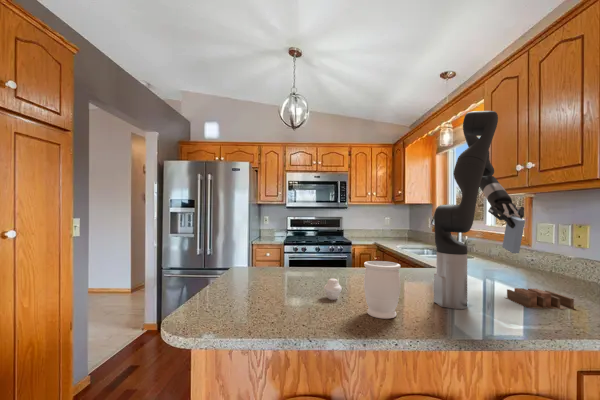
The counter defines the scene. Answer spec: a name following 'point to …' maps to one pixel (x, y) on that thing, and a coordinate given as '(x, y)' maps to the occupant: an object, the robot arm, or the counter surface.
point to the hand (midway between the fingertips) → (517, 226)
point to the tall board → (513, 235)
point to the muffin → (332, 289)
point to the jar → (382, 288)
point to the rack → (542, 300)
